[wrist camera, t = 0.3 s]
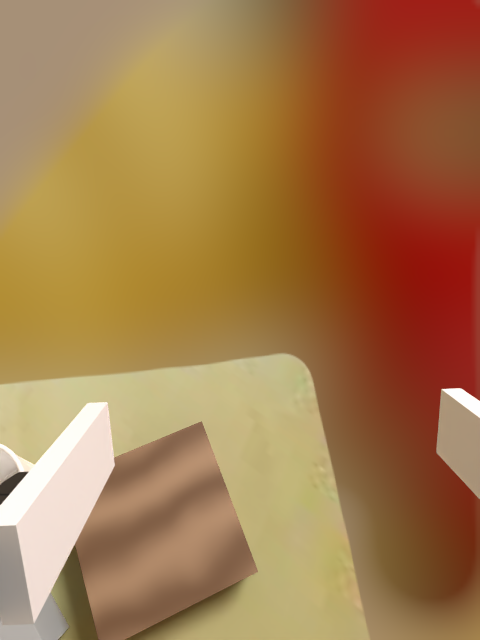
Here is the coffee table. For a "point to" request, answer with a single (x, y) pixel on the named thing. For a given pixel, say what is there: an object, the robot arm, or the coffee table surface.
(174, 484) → the walnut block
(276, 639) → the coffee table surface
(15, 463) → the cup
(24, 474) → the robot arm
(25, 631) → the grey block
